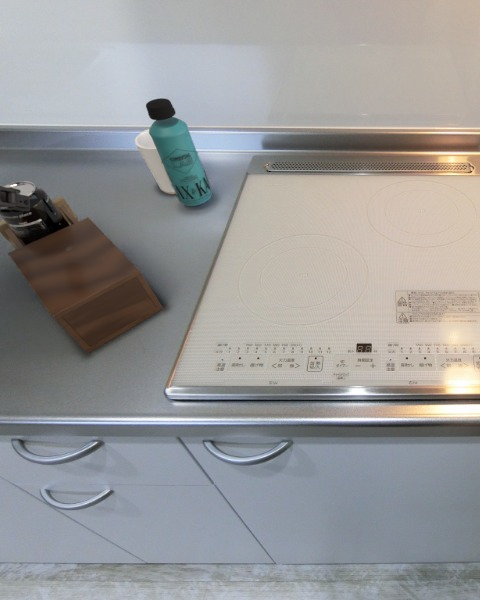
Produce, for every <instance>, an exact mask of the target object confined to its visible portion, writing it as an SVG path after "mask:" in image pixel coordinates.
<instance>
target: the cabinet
mask: <svg viewBox="0 0 480 600" xmlns="http://www.w3.org/2000/svg"><path fill="white" fill-rule="evenodd" d="M7 255H8V256H9V258H10V259H11V261H12V262H13V264H14V265H15V267H16V268H17V269H18V271H19V272H20V273H21V275H22V276H23V278H24V279H25V280H26V282H27V283H28V284H29V286H30V287H31V289H32V291H33V292H34V293H35V294H36V296H37V297H38V299H39V301H40V302H41V303H42V304H43V306H44V307H45V309H46V310H47V311H48V313H49V314H50V316H51V318H53V319H54V321H55V322H57V323H58V325H60V327H62V329H63V330H64V331H65V332H66V333H67V334H68V335H69V336H70V337H71V338H72V339H73V340H74V341H75V342H76V343H77V344H78V346H79V347H80V348H82V350H84V352H85V353H86V354H90V353H92V352H93V351H95V350H96V349H98V348H100V347H101V346H103V345H105V344H107V343H108V342H110V341H112V340H113V339H115V338H116V337H118V336H120V335H122V334H124V333H125V332H127V331H128V330H130V329H132V328H134V327H135V326H137V325H138V324H140V323H142V322H144V321H145V320H147V319H148V318H150V317H152V316H153V315H155V314H157V313H159V312H160V311H162V310H164V307H163V305H162V304H161V303H160V301H159V299H158V298H157V296H156V294H155V293H154V292H153V290H152V288H151V287H150V285H149V283H148V281H146V279H145V277H144V276H143V274H142V272H141V271H140V269H138V267H137V266H136V265H135V264H134V263H133V262H132V261H131V260H130V259H129V258H128V257H127V256H126V255H125V254H124V253H123V252H122V250H121V249H120V248H119V247H118V246H117V245H116V244H114V242H113V241H112V240H111V239H110V238H109V237H108V236H107V235H106V234H105V233H104V232H103V231H102V230H101V228H100V227H98V226H97V224H96V223H94V222H93V221H92V219H91V218H89V217H86V218H84V219H81V220H79V222H77V223H74V224H72V225H70V226H68V227H66V228H63V229H61V230H59V231H57V232H54V233H52V234H50V235H48V236H45V237H43V238H41V239H39V240H36V241H34V242H32V243H30V244H28V245H25V246H23V247H21V248H19V249H16V250H15V249H14V250H12V251H10V252H7Z"/></svg>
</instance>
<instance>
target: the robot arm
mask: <svg viewBox="0 0 480 600" xmlns="http://www.w3.org/2000/svg"><path fill="white" fill-rule="evenodd" d="M0 209H11V210H17V211H30V198H29V197H28V196H25V195H20V194H17V193H16V189H13V188H7V187H3V186H1V185H0Z"/></svg>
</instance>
